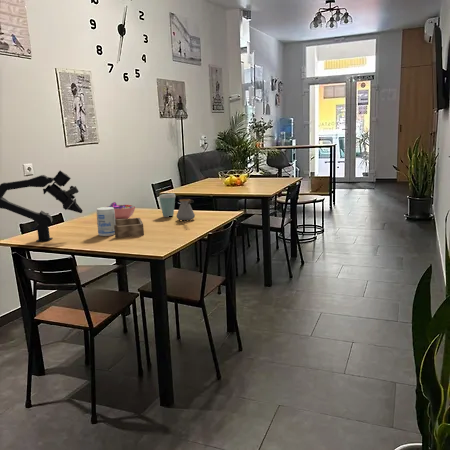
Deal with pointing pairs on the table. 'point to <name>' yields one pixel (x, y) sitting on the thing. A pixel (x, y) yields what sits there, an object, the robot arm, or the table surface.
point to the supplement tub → (106, 221)
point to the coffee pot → (185, 210)
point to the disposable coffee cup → (167, 204)
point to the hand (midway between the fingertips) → (82, 211)
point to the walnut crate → (128, 227)
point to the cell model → (122, 210)
